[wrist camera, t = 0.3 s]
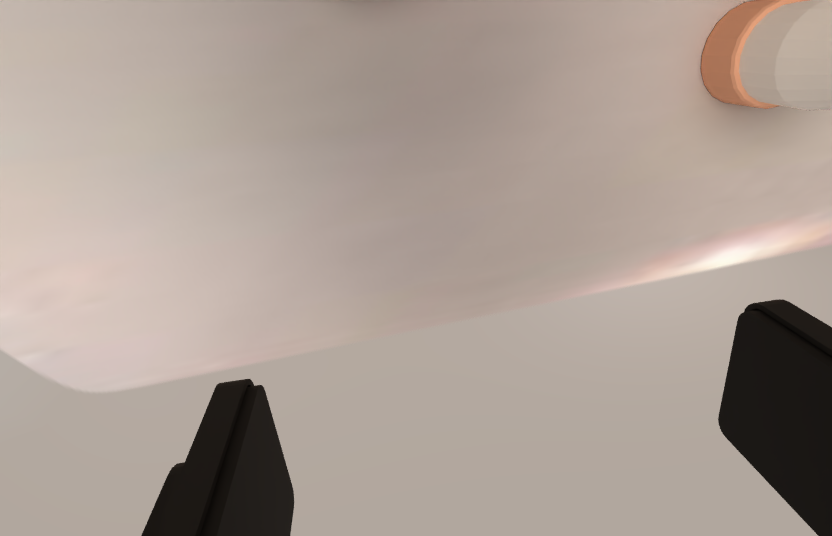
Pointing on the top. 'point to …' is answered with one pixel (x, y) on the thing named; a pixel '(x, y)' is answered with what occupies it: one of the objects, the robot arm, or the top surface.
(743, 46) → the pepper shaker
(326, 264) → the top surface
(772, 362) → the robot arm
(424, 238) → the top surface
